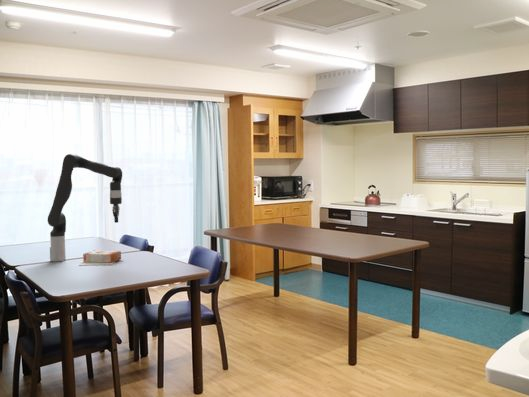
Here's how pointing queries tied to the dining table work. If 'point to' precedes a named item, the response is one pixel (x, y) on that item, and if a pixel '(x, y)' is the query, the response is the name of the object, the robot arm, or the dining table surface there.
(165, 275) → the dining table surface
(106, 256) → the cracker box
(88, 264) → the mat
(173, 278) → the dining table surface
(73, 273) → the dining table surface
